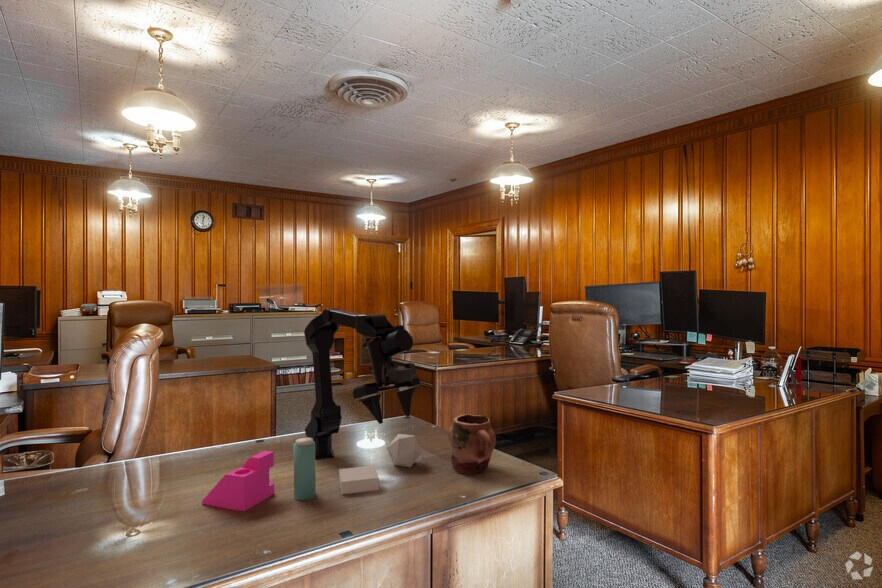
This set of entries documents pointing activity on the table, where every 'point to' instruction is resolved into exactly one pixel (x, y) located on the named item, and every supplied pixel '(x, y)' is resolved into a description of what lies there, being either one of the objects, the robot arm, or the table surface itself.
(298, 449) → the thermos
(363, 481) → the block
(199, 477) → the table surface
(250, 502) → the bracket
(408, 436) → the die
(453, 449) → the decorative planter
